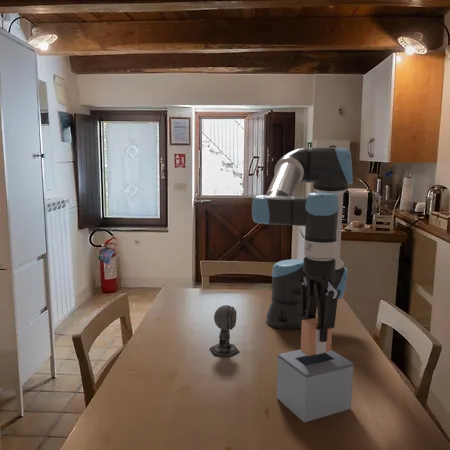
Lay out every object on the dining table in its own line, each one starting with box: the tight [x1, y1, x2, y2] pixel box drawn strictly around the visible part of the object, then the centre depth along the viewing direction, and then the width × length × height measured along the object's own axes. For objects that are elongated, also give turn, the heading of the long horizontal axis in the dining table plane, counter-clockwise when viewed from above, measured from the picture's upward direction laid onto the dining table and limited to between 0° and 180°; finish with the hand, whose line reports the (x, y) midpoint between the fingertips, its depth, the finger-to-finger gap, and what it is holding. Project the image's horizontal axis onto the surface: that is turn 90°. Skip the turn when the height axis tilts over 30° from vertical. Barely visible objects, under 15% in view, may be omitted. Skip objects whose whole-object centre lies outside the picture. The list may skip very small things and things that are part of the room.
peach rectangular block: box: [300, 317, 333, 356], centre depth 113 cm, size 7×3×8 cm, turn 116°
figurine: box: [209, 304, 240, 358], centre depth 144 cm, size 9×10×15 cm
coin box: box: [276, 348, 354, 423], centre depth 115 cm, size 14×12×12 cm
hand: (315, 349), depth 113 cm, fingers closed on peach rectangular block, 3 cm apart
